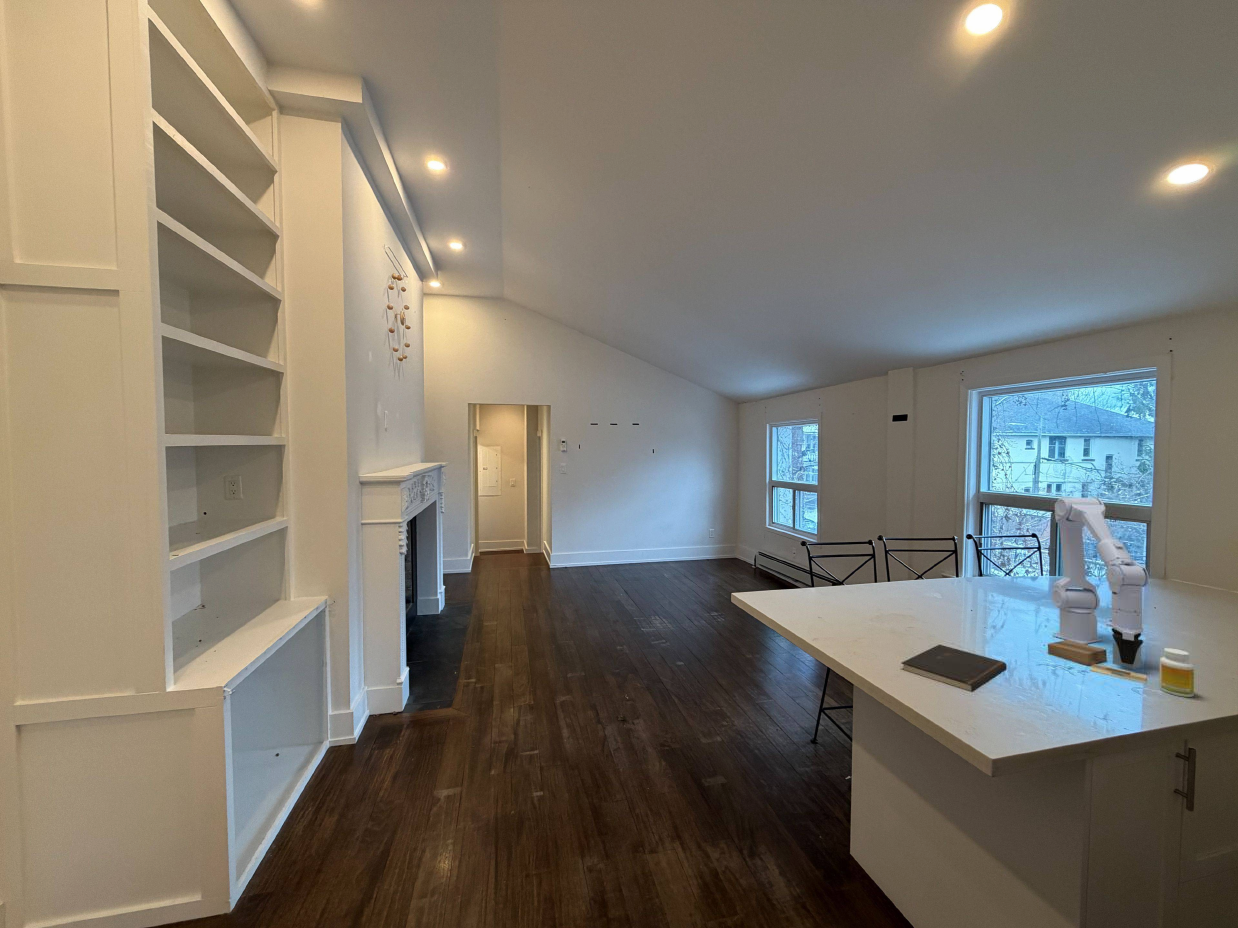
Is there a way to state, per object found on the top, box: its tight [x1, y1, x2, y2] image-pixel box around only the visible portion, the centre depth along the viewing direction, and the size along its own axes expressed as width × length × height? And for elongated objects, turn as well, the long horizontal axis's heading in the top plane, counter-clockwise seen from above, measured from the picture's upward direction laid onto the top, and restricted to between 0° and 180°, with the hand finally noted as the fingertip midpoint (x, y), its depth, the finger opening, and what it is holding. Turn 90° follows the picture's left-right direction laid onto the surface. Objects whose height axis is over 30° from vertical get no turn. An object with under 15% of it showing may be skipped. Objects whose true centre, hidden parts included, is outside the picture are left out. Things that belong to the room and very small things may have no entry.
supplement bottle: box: [1158, 647, 1195, 698], centre depth 116 cm, size 5×5×10 cm
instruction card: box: [1089, 663, 1148, 685], centre depth 127 cm, size 7×10×1 cm
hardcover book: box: [901, 644, 1008, 693], centre depth 129 cm, size 16×23×2 cm
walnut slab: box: [1047, 639, 1108, 666], centre depth 137 cm, size 9×9×3 cm
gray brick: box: [1112, 642, 1142, 670], centre depth 132 cm, size 4×4×6 cm
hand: (1126, 660), depth 132 cm, fingers closed on gray brick, 5 cm apart
